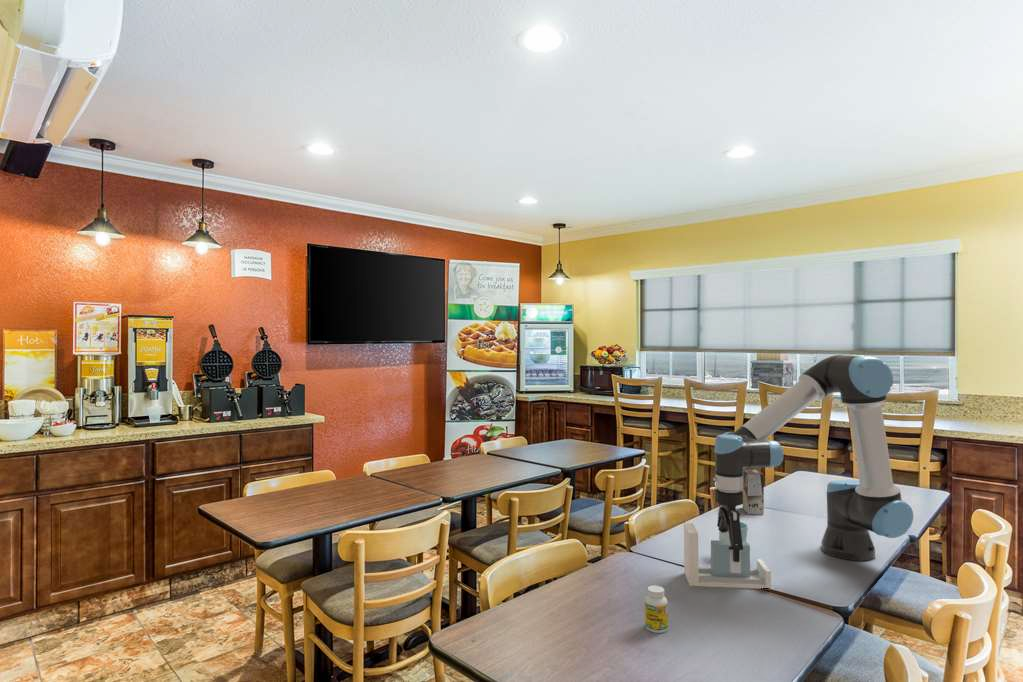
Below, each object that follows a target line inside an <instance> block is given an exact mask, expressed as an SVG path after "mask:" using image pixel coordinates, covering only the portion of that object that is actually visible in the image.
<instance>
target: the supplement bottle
mask: <svg viewBox="0 0 1023 682" xmlns="http://www.w3.org/2000/svg"><path fill="white" fill-rule="evenodd" d="M646 593H647V595H646V596H645V598H644V620H645V621H644V623H645V628H646V630H647V631H650V632H652V633H654V634H661V633H665V632H667V631H668V629H669V616H668V615H669V613H668V611H669V610H668V609H669V608H668V599H667V598H666V596H665V589H664V587H662V586H660V585H650V586H647V591H646Z"/></svg>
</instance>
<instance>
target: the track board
mask: <svg viewBox="0 0 1023 682" xmlns="http://www.w3.org/2000/svg"><path fill="white" fill-rule="evenodd" d="M683 538H684V539H683V562H684V563H683V565H684V568H683V569H684V571H683V572H684V576H685V578H686V580H687V582H688V586H689V587H707V588H708V587H711V588H731V589H732V588H733V589H735V588H736V589H753V590H754V589H755V590H764V589H763V588H771V589H772V571H771V570H770V568H769V566H768V565H766V563H765V561H764V560H763V558H756V564H755V565H756V569H754V568H753V569H751V568H750V578H745V577H721V576H712V575H711V567H703V566H702V567H699V532H698V530H697V528H696V527H695V525H694V523H692V522H684V523H683ZM761 588H762V589H761Z"/></svg>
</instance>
